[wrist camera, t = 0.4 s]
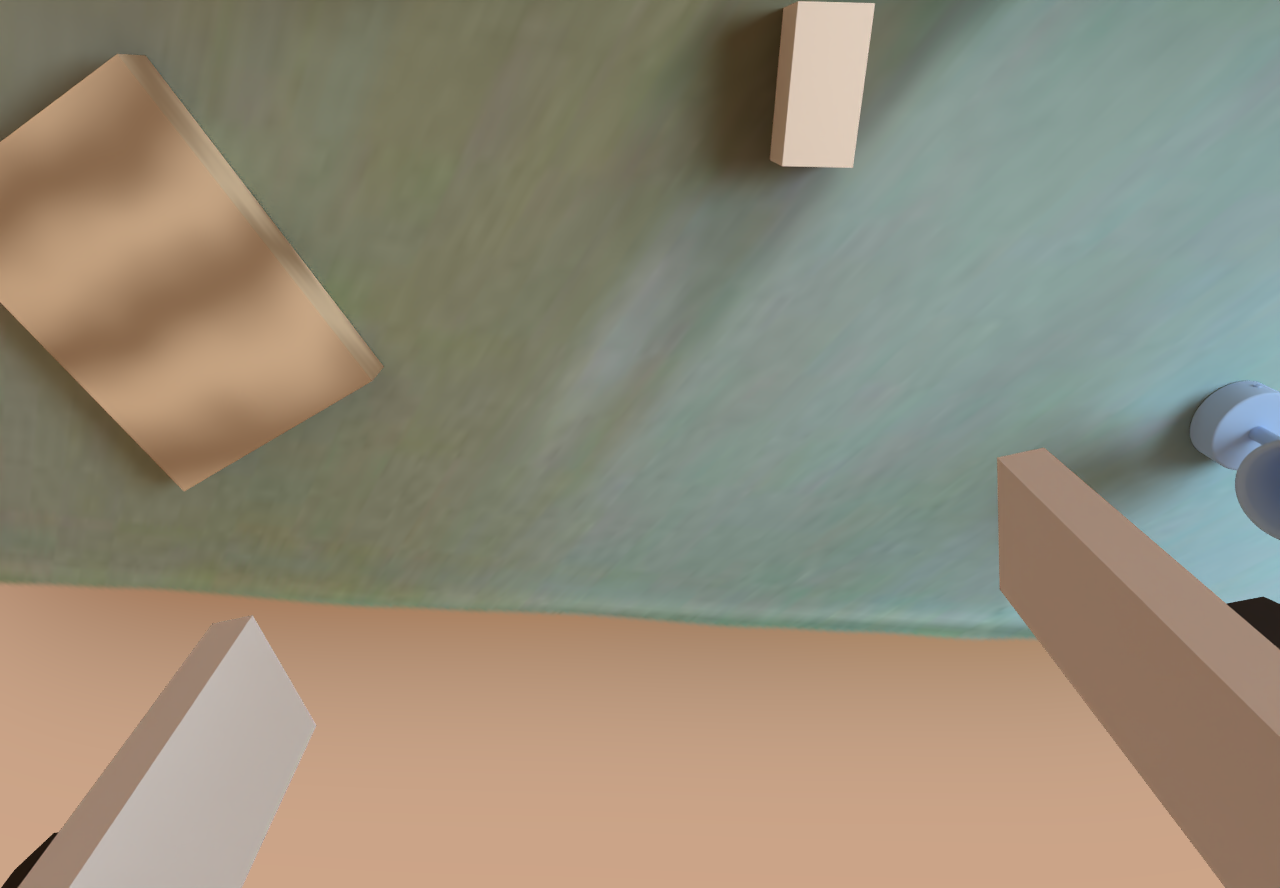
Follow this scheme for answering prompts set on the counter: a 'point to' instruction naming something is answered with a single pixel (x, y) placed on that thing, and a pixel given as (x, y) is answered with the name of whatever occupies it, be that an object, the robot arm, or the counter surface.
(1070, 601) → the robot arm
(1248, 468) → the spotlight
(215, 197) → the maple board
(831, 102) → the brick cream
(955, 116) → the counter surface
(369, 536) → the counter surface
